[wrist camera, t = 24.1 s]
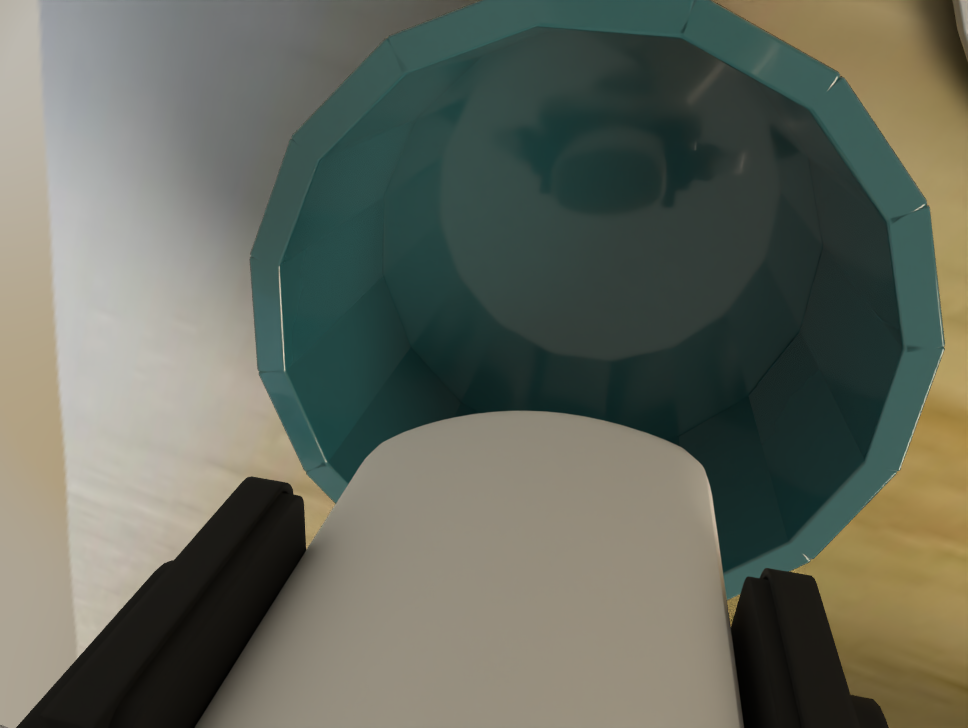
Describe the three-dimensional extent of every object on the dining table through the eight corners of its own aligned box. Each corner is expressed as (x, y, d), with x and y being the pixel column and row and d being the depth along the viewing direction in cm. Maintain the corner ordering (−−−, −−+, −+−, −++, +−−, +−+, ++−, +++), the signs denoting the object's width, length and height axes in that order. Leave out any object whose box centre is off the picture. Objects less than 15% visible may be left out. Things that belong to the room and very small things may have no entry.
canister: (366, -21, 23) (226, -41, 15) (911, 18, 20) (1068, 17, 13) (366, 422, 29) (270, 562, 22) (775, 489, 27) (826, 671, 20)
